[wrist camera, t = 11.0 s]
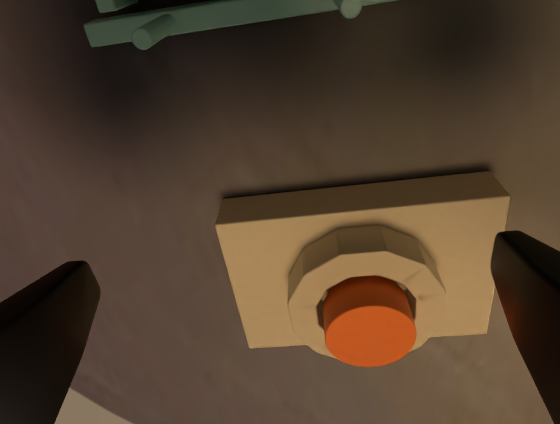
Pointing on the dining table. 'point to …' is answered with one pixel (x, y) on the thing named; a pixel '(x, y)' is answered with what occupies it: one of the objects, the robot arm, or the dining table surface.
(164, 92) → the dining table surface
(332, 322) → the button
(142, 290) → the dining table surface
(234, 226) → the panel
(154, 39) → the rack
